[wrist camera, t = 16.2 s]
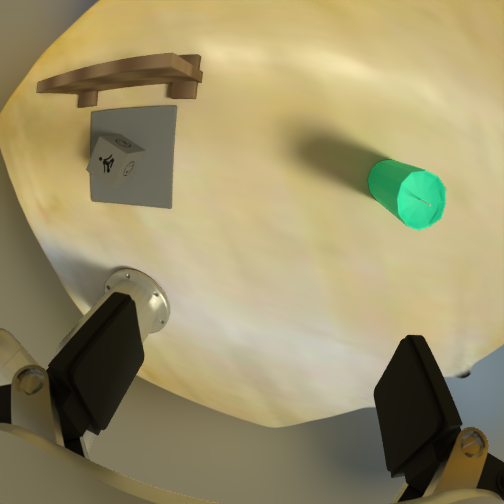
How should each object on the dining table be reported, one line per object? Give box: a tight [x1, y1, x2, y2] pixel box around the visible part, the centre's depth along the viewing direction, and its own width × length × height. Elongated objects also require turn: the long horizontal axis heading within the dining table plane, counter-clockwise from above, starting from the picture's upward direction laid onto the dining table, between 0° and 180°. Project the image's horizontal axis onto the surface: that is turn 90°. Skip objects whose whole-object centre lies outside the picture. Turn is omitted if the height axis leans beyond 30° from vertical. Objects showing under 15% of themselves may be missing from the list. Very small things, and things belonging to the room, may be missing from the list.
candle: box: [368, 159, 446, 230], centre depth 27 cm, size 6×6×12 cm
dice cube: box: [86, 134, 146, 188], centre depth 32 cm, size 5×5×5 cm
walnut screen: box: [36, 53, 203, 108], centre depth 26 cm, size 20×6×10 cm, turn 84°
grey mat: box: [90, 106, 177, 209], centre depth 35 cm, size 14×14×1 cm
